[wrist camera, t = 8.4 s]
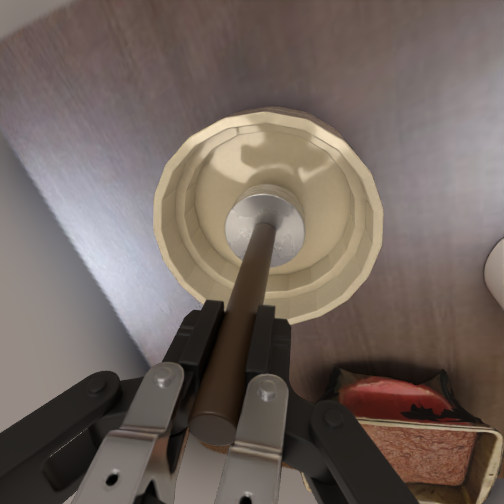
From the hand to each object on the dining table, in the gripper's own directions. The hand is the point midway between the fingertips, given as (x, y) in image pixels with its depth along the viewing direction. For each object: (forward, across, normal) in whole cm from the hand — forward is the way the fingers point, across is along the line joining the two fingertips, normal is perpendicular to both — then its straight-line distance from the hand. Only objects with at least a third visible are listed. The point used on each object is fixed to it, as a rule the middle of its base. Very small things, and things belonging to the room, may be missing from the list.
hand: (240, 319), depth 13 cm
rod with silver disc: (+11, 0, 0) cm, 11 cm away
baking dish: (+15, -13, +23) cm, 30 cm away
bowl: (+14, 0, 0) cm, 14 cm away
